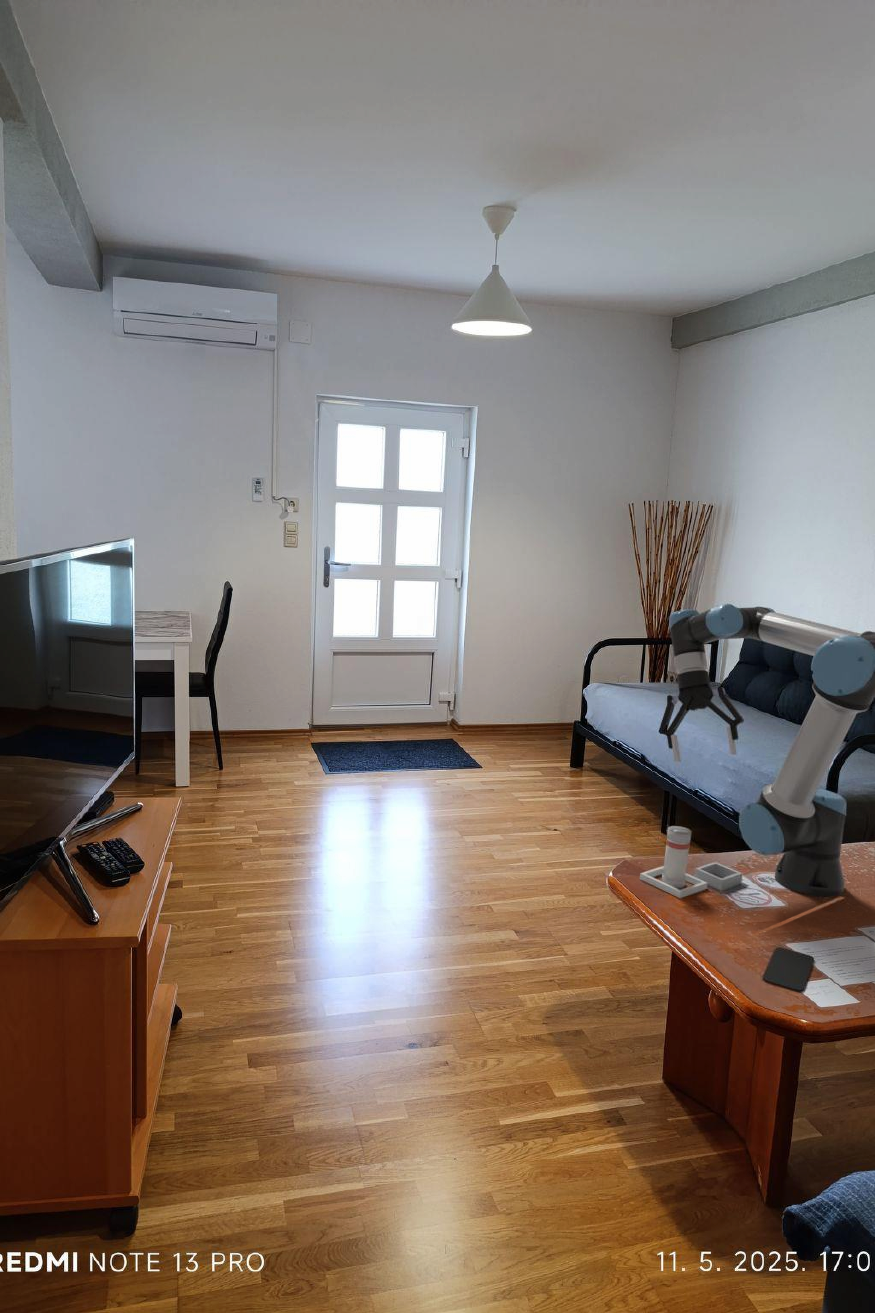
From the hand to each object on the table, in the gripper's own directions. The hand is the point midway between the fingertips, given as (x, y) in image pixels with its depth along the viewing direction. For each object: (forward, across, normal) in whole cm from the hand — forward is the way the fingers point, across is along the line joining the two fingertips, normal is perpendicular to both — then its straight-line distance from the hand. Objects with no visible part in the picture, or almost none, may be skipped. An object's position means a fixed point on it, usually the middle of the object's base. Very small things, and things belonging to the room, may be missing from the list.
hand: (705, 758), depth 218 cm
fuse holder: (+29, +1, +2) cm, 29 cm away
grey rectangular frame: (+29, +9, +10) cm, 32 cm away
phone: (+45, -18, +32) cm, 58 cm away
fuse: (+28, +9, +10) cm, 31 cm away
